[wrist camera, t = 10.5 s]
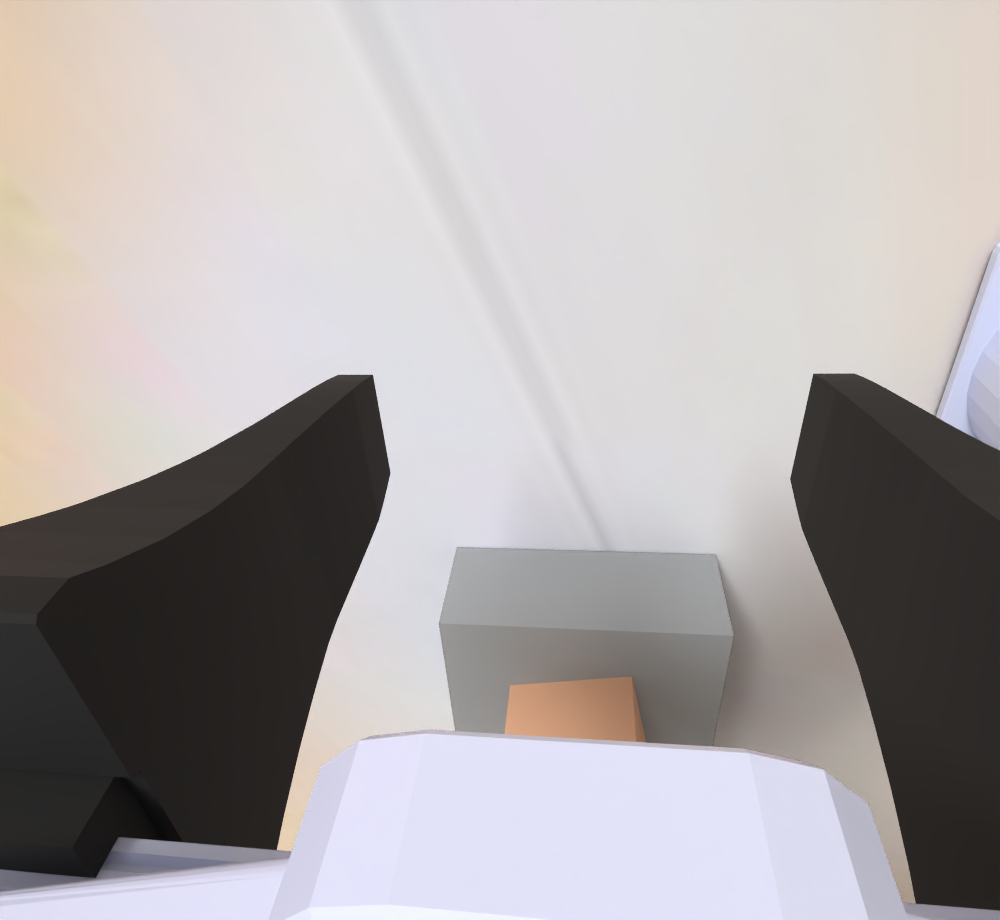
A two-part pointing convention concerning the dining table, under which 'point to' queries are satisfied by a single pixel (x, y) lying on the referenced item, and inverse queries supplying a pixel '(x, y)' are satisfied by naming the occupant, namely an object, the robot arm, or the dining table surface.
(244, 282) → the dining table surface
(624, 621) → the base block
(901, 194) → the dining table surface
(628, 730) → the peach block
